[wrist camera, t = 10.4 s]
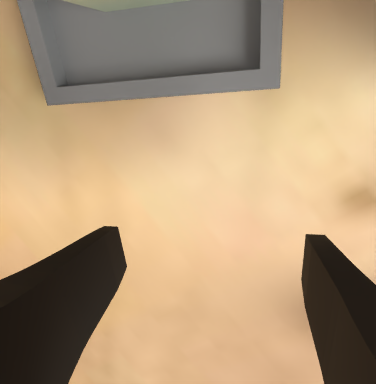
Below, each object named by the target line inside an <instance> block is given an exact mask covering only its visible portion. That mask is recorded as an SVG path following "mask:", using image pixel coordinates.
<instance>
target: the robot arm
mask: <svg viewBox="0 0 376 384" xmlns="http://www.w3.org/2000/svg"><path fill="white" fill-rule="evenodd" d="M126 268H127V264H126V260H125V256H124V251H123V247H122V243H121V238H120V234H119V230H118V227H112V226H104V227H102V228H99V229H97V230H95V231H93V232H92V233H90V234H88V235H86V236H84V237H83V238H81V239H79V240H77V241H76V242H74V243H72V244H70V245H69V246H67V247H65V248H63V249H62V250H60V251H58V252H56V253H54V254H52V255H51V256H49V257H47V258H45V259H43V260H41V261H39V262H37V263H35V264H34V265H32V266H30V267H28V268H26V269H24V270H21V271H19V272H17V273H15V274H13V275H10V276H8V277H6V278H4V279H1V280H0V384H68V383H69V380H70V378H71V376H72V373H73V371H74V369H75V367H76V365H77V363H78V360H79V358H80V356H81V354H82V352H83V350H84V348H85V346H86V344H87V342H88V340H89V338H90V337H91V335H92V333H93V331H94V330H95V328H96V326H97V324H98V323H99V321H100V319H101V318H102V316H103V314H104V312H105V311H106V309H107V307H108V306H109V304H110V302H111V300H112V299H113V297H114V295H115V293H116V291H117V290H118V288H119V285H120V283H121V281H122V278H123V276H124V273H125V270H126ZM301 280H302V288H303V296H304V303H305V309H306V313H307V317H308V321H309V325H310V328H311V332H312V336H313V340H314V344H315V348H316V352H317V355H318V359H319V363H320V367H321V371H322V375H323V380H324V384H376V285H375V284H374V283H373V282H372V281H371V280H370V279H369V278H368V277H366V276H365V275H364V274H363V273H362V272H361V271H360V270H359V269H358V268H357V267H356V266H355V265H354V264H353V263H352V262H351V261H350V260H349V259H348V258H347V257H346V256H345V255H344V254H343V253H342V252H341V251H340V250H339V249H338V248H337V247H336V246H335V245H334V244H333V243H332V242H331V241H330V240H329V239H328V238H327V237H326V236H325V235H312V234H306V238H305V248H304V259H303V269H302V279H301Z"/></svg>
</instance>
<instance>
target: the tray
mask: <svg viewBox="0 0 376 384" xmlns="http://www.w3.org/2000/svg"><path fill="white" fill-rule="evenodd" d="M17 3H18V6H19V9H20V13H21V16H22V20H23V23H24V27H25V30H26V33H27V37H28V40H29V44H30V47H31V51H32V54H33V57H34V61H35V64H36V68H37V71H38V75H39V78H40V81H41V85H42V88H43V92H44V95H45V99H46V102H47V105H61V104H74V103H88V102H102V101H115V100H129V99H142V98H156V97H169V96H183V95H196V94H210V93H223V92H237V91H250V90H264V89H277V88H280V73H281V49H282V25H283V0H188V1H181V2H174V3H167V4H160V5H152V6H145V7H138V8H131V9H124V10H117V11H110V12H103V11H99V10H95V9H92V8H88V7H85V6H81V5H77V4H74V3H70V2H67V1H63V0H17Z"/></svg>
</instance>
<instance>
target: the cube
mask: <svg viewBox="0 0 376 384" xmlns="http://www.w3.org/2000/svg"><path fill="white" fill-rule="evenodd" d="M63 1H67V2H70V3H74V4H77V5H81V6H85V7H88V8H92V9H95V10H99V11H103V12H110V11H117V10H124V9H131V8H138V7H145V6H152V5H160V4H167V3H174V2H181V1H188V0H63Z"/></svg>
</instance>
